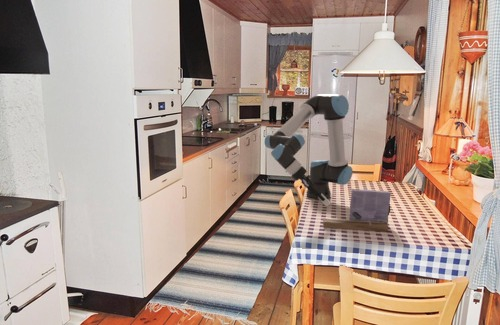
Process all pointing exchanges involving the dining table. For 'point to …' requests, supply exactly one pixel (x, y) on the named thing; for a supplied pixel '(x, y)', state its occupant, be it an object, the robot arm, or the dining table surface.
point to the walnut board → (355, 225)
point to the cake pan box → (370, 205)
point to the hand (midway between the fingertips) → (328, 204)
